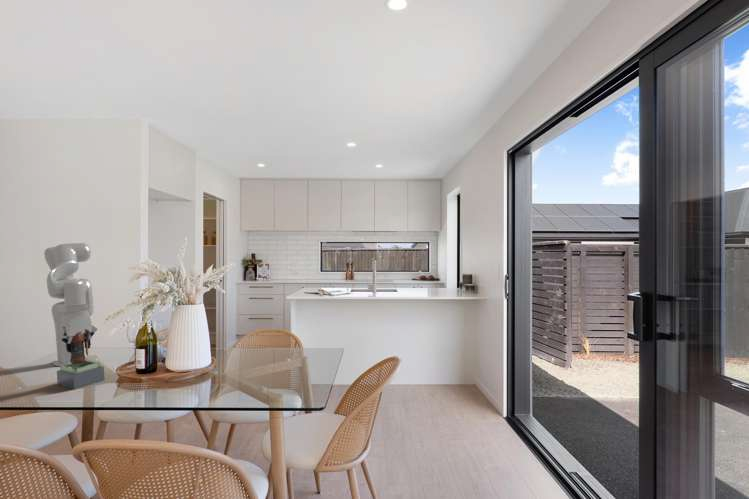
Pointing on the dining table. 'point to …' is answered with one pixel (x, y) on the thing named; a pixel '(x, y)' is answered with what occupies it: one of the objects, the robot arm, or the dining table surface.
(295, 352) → the dining table surface
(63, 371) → the stand
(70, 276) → the robot arm
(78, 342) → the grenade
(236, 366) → the dining table surface
